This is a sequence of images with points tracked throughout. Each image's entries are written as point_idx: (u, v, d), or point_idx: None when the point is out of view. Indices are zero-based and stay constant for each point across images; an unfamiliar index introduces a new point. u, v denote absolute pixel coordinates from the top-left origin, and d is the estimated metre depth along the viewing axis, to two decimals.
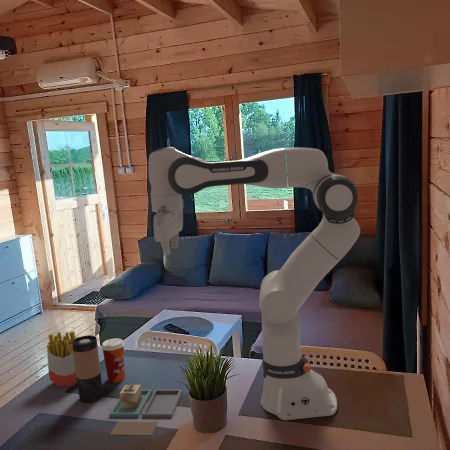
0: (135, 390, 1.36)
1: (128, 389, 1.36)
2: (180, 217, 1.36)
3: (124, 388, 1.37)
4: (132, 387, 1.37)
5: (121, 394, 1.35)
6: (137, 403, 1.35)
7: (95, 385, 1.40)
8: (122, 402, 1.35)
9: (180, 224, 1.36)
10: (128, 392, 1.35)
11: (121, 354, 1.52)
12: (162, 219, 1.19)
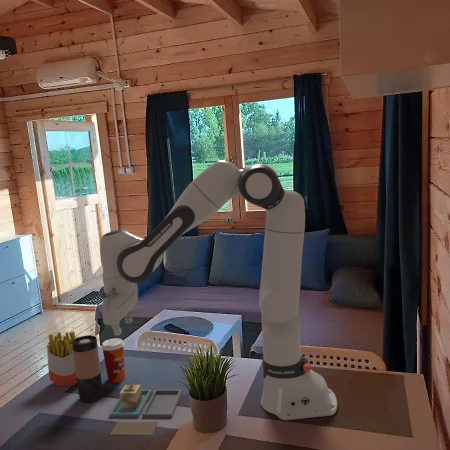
0: (135, 390, 1.36)
1: (128, 389, 1.36)
2: (134, 292, 1.40)
3: (124, 388, 1.37)
4: (132, 387, 1.37)
5: (121, 394, 1.35)
6: (137, 403, 1.35)
7: (95, 385, 1.40)
8: (122, 402, 1.35)
9: (134, 299, 1.40)
10: (128, 392, 1.35)
11: (121, 354, 1.52)
12: (110, 304, 1.23)
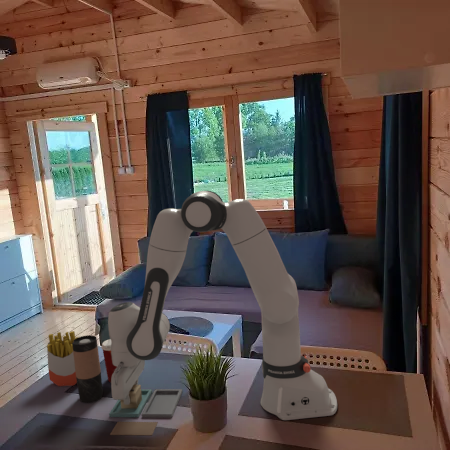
0: (135, 390, 1.36)
1: None
2: None
3: None
4: (132, 387, 1.37)
5: None
6: (137, 403, 1.35)
7: (95, 385, 1.40)
8: (122, 402, 1.35)
9: (141, 366, 1.43)
10: None
11: None
12: (119, 380, 1.26)
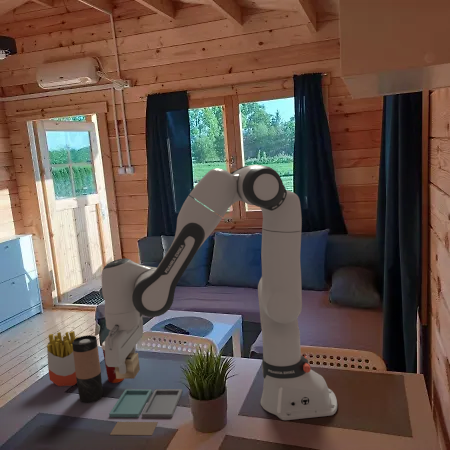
0: (132, 358, 1.20)
1: None
2: (139, 325, 1.28)
3: None
4: (128, 355, 1.22)
5: None
6: (134, 373, 1.20)
7: (95, 385, 1.40)
8: (117, 371, 1.20)
9: (139, 333, 1.28)
10: None
11: None
12: (113, 344, 1.11)
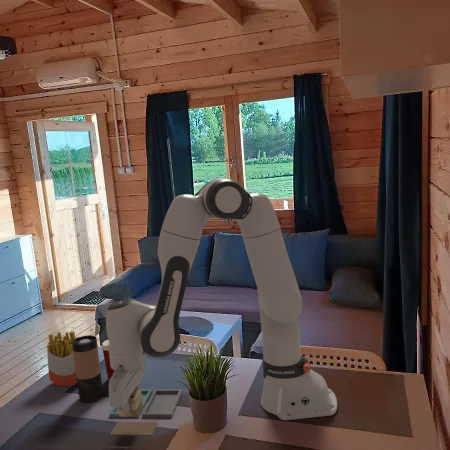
0: (135, 396, 1.22)
1: None
2: (142, 361, 1.30)
3: None
4: (132, 393, 1.24)
5: None
6: (137, 411, 1.22)
7: (95, 385, 1.40)
8: (121, 409, 1.21)
9: (142, 369, 1.29)
10: None
11: None
12: (117, 386, 1.13)
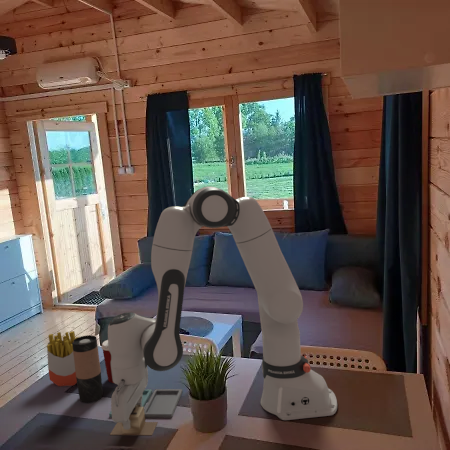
0: (138, 413, 1.23)
1: None
2: (144, 374, 1.30)
3: None
4: (134, 409, 1.25)
5: None
6: (140, 428, 1.22)
7: (95, 385, 1.40)
8: None
9: (144, 382, 1.30)
10: (130, 416, 1.22)
11: None
12: (120, 400, 1.13)
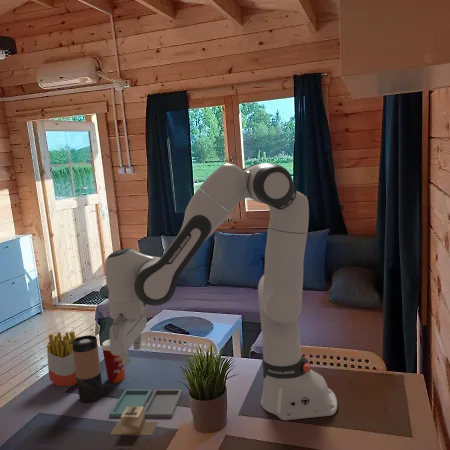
0: (138, 413, 1.23)
1: (130, 412, 1.23)
2: (143, 315, 1.29)
3: (126, 411, 1.24)
4: (134, 409, 1.25)
5: (122, 418, 1.22)
6: (140, 428, 1.22)
7: (95, 385, 1.40)
8: (123, 427, 1.22)
9: (143, 322, 1.28)
10: (130, 416, 1.22)
11: None
12: (118, 332, 1.12)
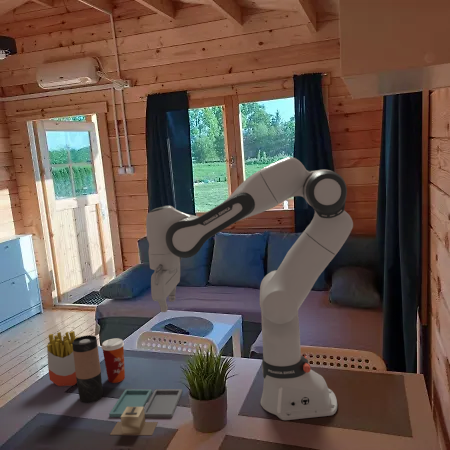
0: (138, 413, 1.23)
1: (130, 412, 1.23)
2: (177, 270, 1.39)
3: (126, 411, 1.24)
4: (134, 409, 1.25)
5: (122, 418, 1.22)
6: (140, 428, 1.22)
7: (95, 385, 1.40)
8: (123, 427, 1.22)
9: (177, 277, 1.39)
10: (130, 416, 1.22)
11: (121, 354, 1.52)
12: (159, 280, 1.22)
